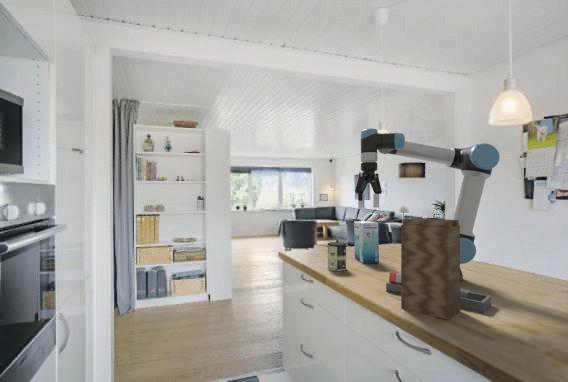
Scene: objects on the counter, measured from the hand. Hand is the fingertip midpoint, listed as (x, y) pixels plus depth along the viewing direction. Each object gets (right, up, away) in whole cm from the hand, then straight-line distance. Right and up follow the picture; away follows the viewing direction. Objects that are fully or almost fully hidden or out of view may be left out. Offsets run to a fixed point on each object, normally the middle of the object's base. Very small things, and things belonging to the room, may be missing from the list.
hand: (369, 207), depth 153 cm
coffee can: (-11, -35, +27) cm, 46 cm away
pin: (+18, -32, -21) cm, 42 cm away
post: (+12, -34, -36) cm, 51 cm away
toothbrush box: (+11, -36, +50) cm, 62 cm away
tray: (+20, -35, -23) cm, 46 cm away
